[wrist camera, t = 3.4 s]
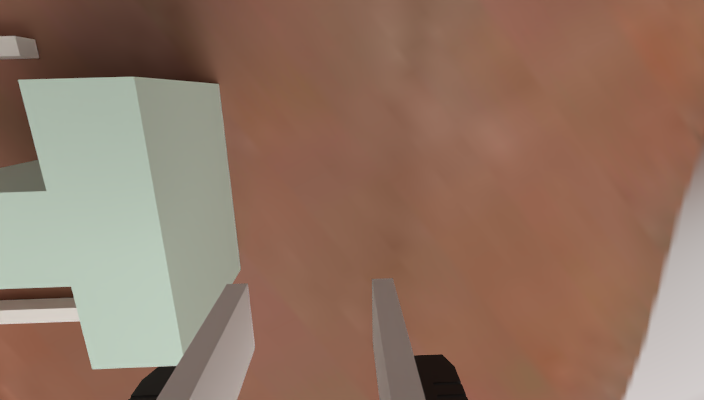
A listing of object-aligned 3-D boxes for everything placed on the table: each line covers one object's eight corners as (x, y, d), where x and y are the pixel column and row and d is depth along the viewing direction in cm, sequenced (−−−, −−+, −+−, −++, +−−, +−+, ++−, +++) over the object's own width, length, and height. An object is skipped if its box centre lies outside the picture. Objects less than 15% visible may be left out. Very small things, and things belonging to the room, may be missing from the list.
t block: (218, 83, 33) (134, 76, 20) (240, 269, 38) (184, 365, 24) (35, 88, 33) (-179, 84, 19) (81, 275, 38) (-64, 375, 24)
